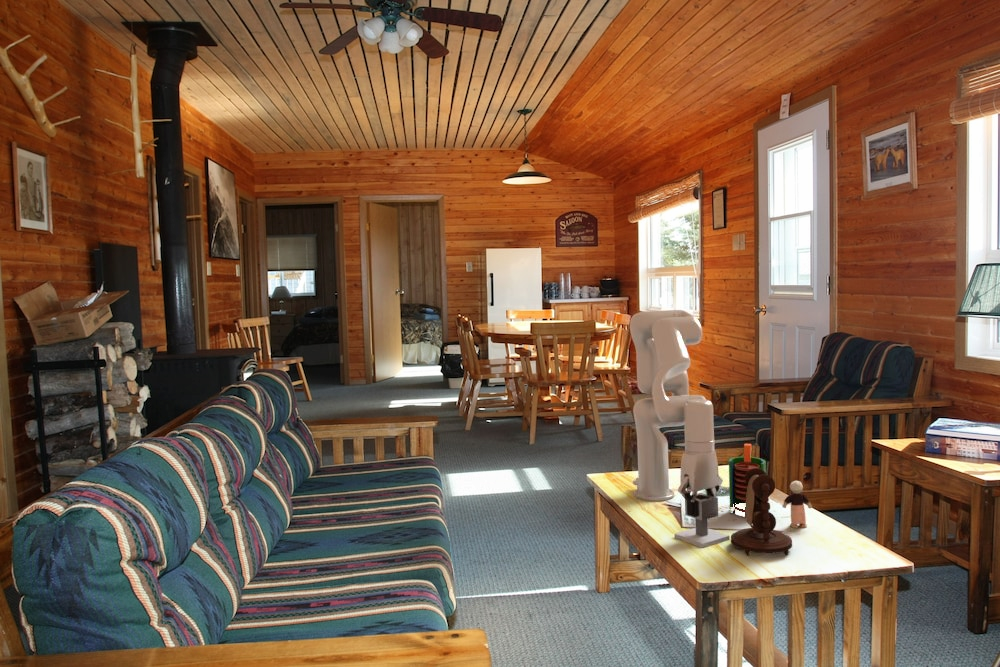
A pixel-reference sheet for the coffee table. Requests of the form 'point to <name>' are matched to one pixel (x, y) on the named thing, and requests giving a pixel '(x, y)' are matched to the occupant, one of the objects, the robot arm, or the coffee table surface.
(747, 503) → the dark brown upright piece
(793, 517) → the grandmother figurine
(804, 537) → the coffee table surface
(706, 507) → the grey square holed block
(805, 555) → the coffee table surface
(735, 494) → the motor
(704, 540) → the shaft block
